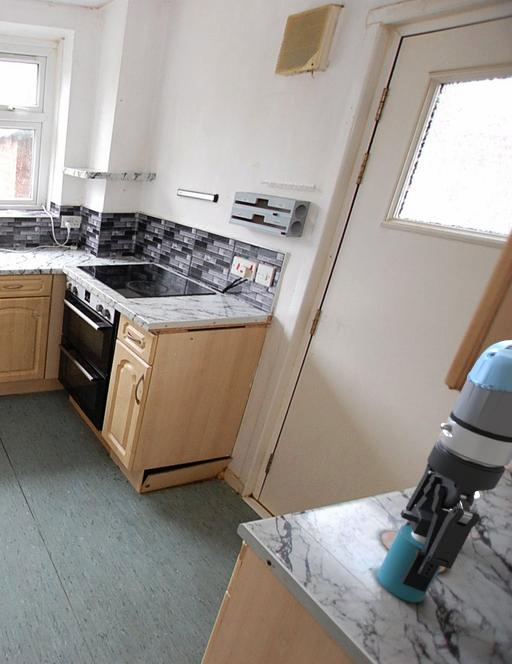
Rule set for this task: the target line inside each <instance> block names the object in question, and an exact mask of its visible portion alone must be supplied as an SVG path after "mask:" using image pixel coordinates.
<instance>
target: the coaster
mask: <svg viewBox="0 0 512 664" xmlns="http://www.w3.org/2000/svg"><path fill="white" fill-rule="evenodd" d="M397 533H398V531H385V532H383V533H382V535H381V542H382V544H383V545H384V547H385V548H386V549H387V551H389V549H390V547H391V545H392V543H393V541H394V539H395V537H396V535H397ZM446 569H447V568H446V567H443V566H441V568H440V570H439V571H438V573H437V574H440V573H443V572H444V571H445V570H446Z"/></svg>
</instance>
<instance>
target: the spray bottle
mask: <svg viewBox="0 0 512 664" xmlns="http://www.w3.org/2000/svg"><path fill="white" fill-rule="evenodd" d="M400 516H401V518H402V519H404V520H407V521H408V520H410V525H406V524H404V525H401V526H400V527H399V529H398V531H397V532H398V533H397V535H396V537H395V539H394V541H393V543H392V545H391V547H390V549H389V550H387V553H386V555H385V558H384V559H383V561H382V563H381V565H380V567H379V569H378V571H377V573H376V577H377V580H378V581H379V583H380V584H381V585H382V586H383V588H384V589H386V590H387V591H388V592H390V593H391V594H392V595H394V596H396V597H397V598H399V599H402V600H404V601H406V602H410V603H420V602H422V601H423V600H424V598H425V596H426V594H427V592H428V591H429V589H430V587H431V585H432V584H433V582H434V581H435V578H437V575H438V574H439V573H438V571H439V570H440V568H441V566H439V567H438V569H437V571H436V573H435V574H434V576H433V578H432V580H431V581H430V583H429V585H428V587H427V588H426V590H425V592H423V591H420V590H418V589H415V588H412V587H410V586H407V585H405V584H403V583H402V578H403V576H404V575H405V573H406V571H407V569H408V567H409V565H410V563H411V561H412V560H413V558H414V556H415V554H416V552H415V549H416V548H417V549H420V550H422V549H423V546H424V543H425V540H426V537H427V534H428V531H429V528H430V525H431V522H432V519H433V516H434V514H432V513H429V512H426V511H423V510H420V509H416V511H415V513H412V512H409V511H407V510H406V509H402V510H401V512H400Z"/></svg>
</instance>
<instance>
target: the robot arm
mask: <svg viewBox="0 0 512 664" xmlns="http://www.w3.org/2000/svg"><path fill="white" fill-rule="evenodd" d="M454 403H455V404H454V405H453V408H452V410H451V412H450V414H449V416H448V418H447V420H446V422H445V423H444V422H441V423H440V425H439V428H440V430H441V432H440V434H439V436H438V439H439V440H437V441H436V442H434V444H433V447H432V449H431V450H430V453H429V455H428V456H427V463H426V467H425V470H424V473H423V475H422V477H421V478H420V481H419V482H418V484H417V486H416V488H415V490H414V491H413V493H412V495H411V497H410V499H409V500H408V501H407V504H406V506H405V510H406V511H409V512H412V513H415V511H416V509H420V510H423V511H426V512H429V513H432V514H434V516H433V519H432V522H431V525H430V528H429V531H428V534H427V537H426V540H425V543H424V546H423V549H422V550H420V549H417V548H416V549H415V552H416V554H415V556H414V558H413V560H412V561H411V563H410V565H409V567H408V569H407V571H406V573H405V575H404V576H403V578H402V583H403V584H405V585H407V586H410V587H412V588H415V589H418V590H420V591H423V592H425V590H426V588H427V587H428V585H429V583H430V581H431V580H432V578H433V576H434V574H435V573H436V571H437V569H438V567H439V566H443V567H446V568H445V569H448V570H451V569H452V568H453V565H454V564H455V562H456V560H457V558H458V556H459V554H460V553H461V550H462V548H463V547H464V545H465V542H466V541H467V538H468V537H469V535H470V533H471V531H472V529H473V528H474V527H475V526H476V525H477V524H478V523H479V521H480V517H481V516H480V514H479V513H477V512H475V511H472V510H470V506H472V504H473V501H474V495H475V492H477V491H478V492H479V491H492V490H494V489H495V488H497V486H498V484H499V483H500V481H501V478H502V477H503V476H504V473H505V472H506V466H509V465H510V464H511V463H512V339H511V340H503V341H499V342H496V343H494V344H492V345H489V347H487V348H486V349H485V350H484V351H483V352H482V354H481V355H480V356H479V358H478V359H477V360H476V361H475V363H474V365H473V367H472V368H471V370H470V371H469V373H468V374H467V376H466V381H465V383H464V385H463V387H462V389H461V391H460V393H459V395H458V397H457V399H456V401H455V402H454ZM443 509H446V510H449V511H446V510H443ZM405 525H410V520H407V521H406V523H405Z"/></svg>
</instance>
